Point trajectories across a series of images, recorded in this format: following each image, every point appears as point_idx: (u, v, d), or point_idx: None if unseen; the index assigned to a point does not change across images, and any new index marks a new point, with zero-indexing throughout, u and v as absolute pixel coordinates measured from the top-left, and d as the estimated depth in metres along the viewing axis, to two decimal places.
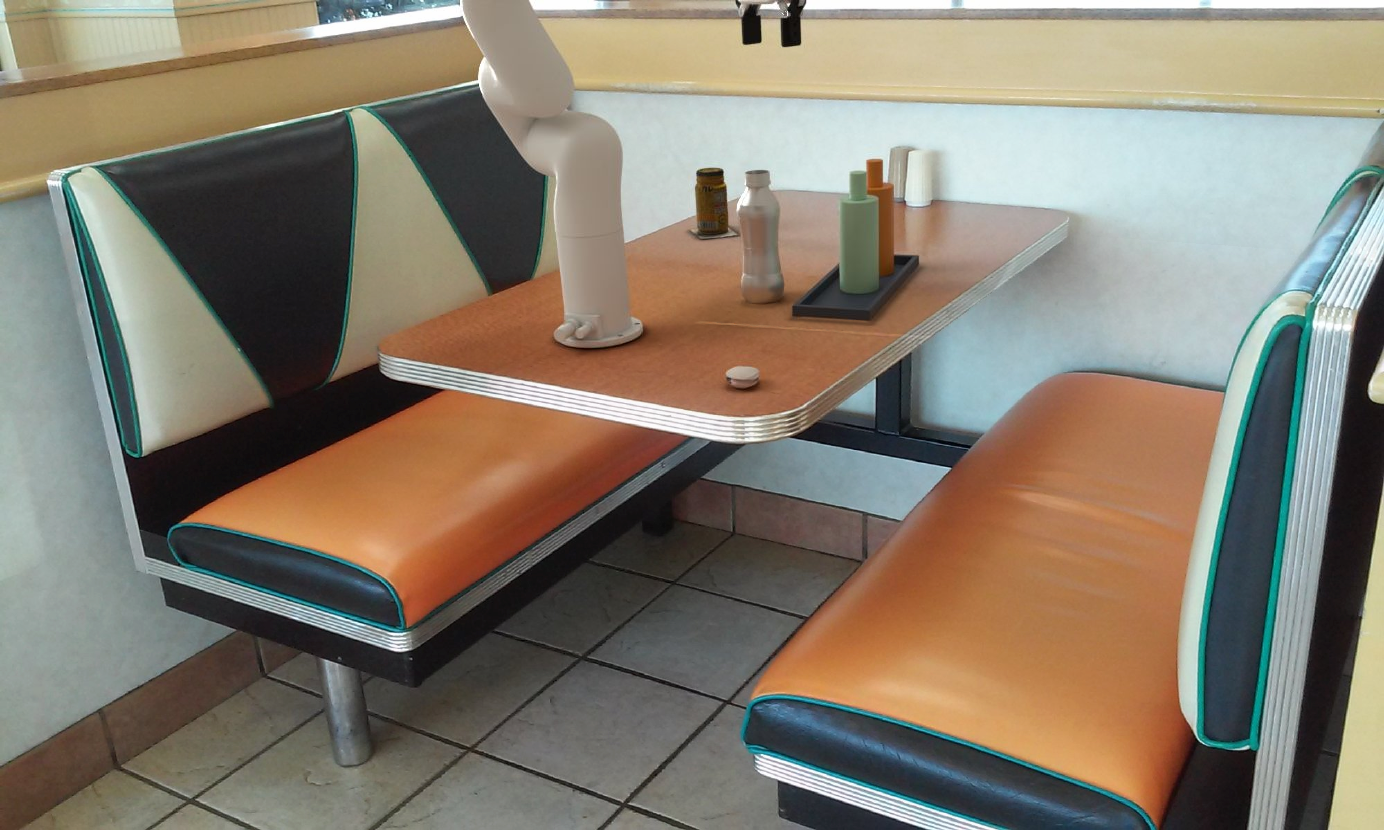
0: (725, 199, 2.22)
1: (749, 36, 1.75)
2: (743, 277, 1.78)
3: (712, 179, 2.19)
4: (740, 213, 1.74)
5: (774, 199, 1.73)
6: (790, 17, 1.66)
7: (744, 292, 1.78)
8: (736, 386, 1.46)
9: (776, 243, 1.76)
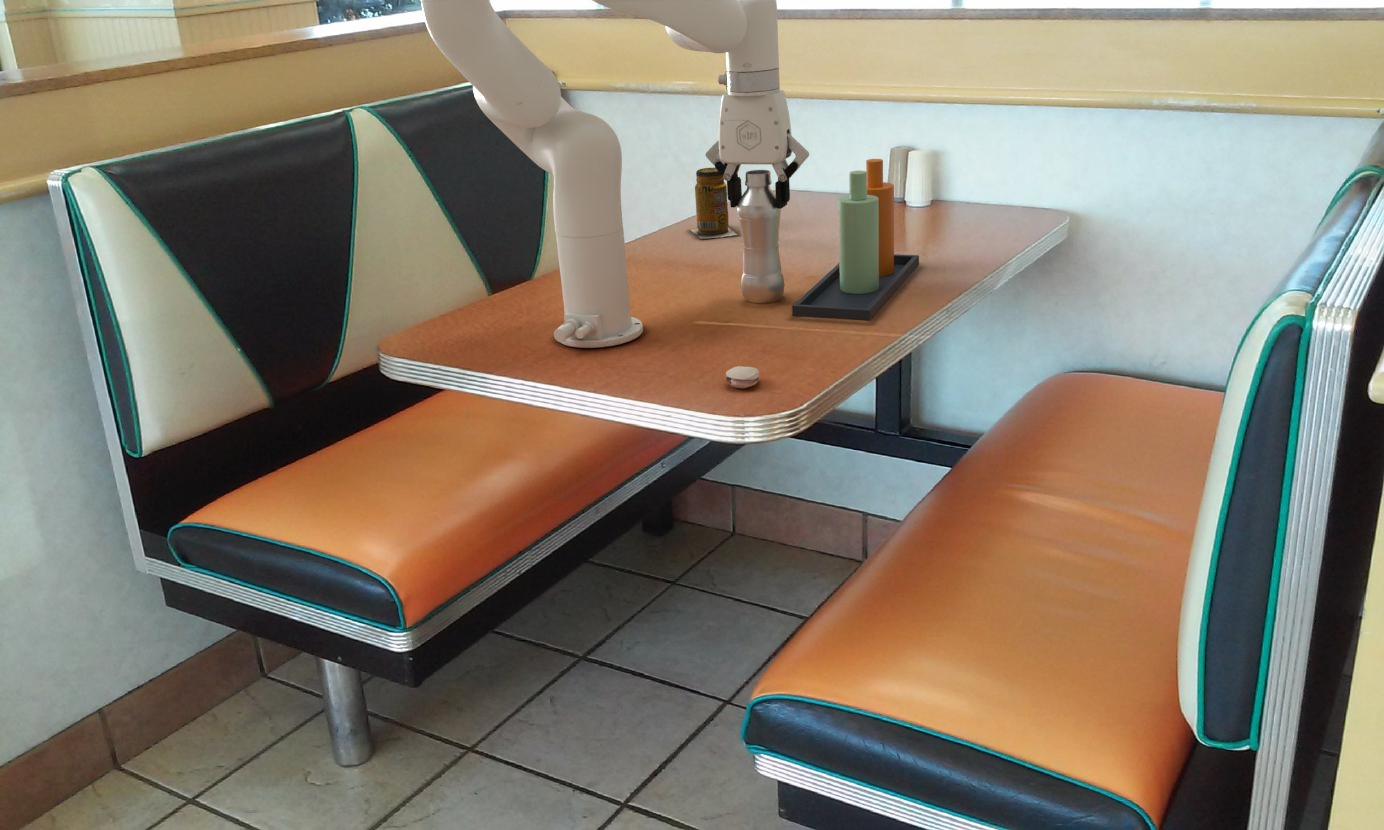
0: (725, 199, 2.22)
1: (736, 198, 1.75)
2: (743, 277, 1.78)
3: (712, 179, 2.19)
4: (741, 213, 1.74)
5: (775, 199, 1.73)
6: (785, 180, 1.71)
7: (744, 292, 1.78)
8: (736, 386, 1.46)
9: (776, 243, 1.76)
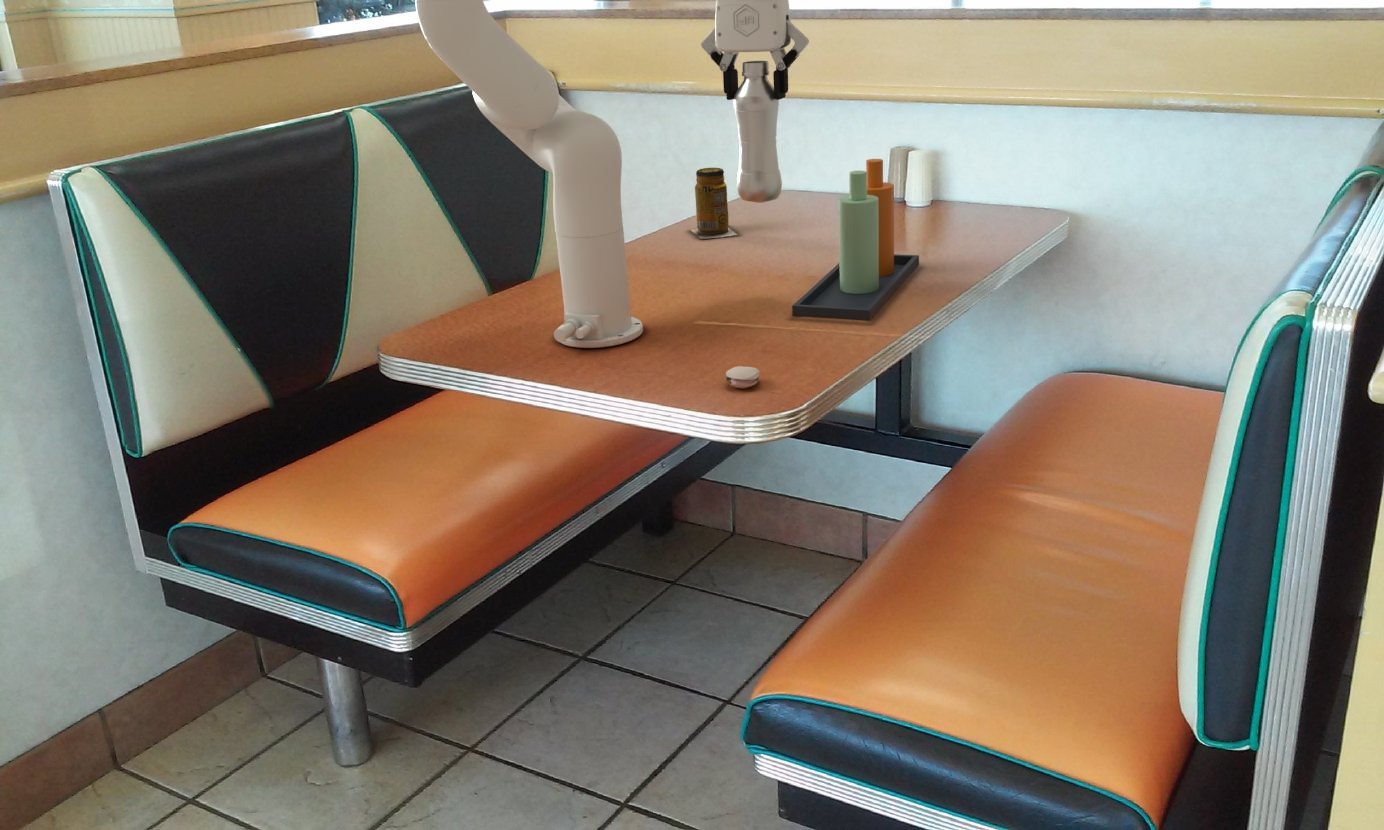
0: (725, 199, 2.22)
1: (732, 91, 1.69)
2: (739, 174, 1.72)
3: (712, 179, 2.19)
4: (737, 105, 1.67)
5: (773, 90, 1.67)
6: (784, 69, 1.65)
7: (740, 190, 1.72)
8: (736, 386, 1.46)
9: (774, 138, 1.69)
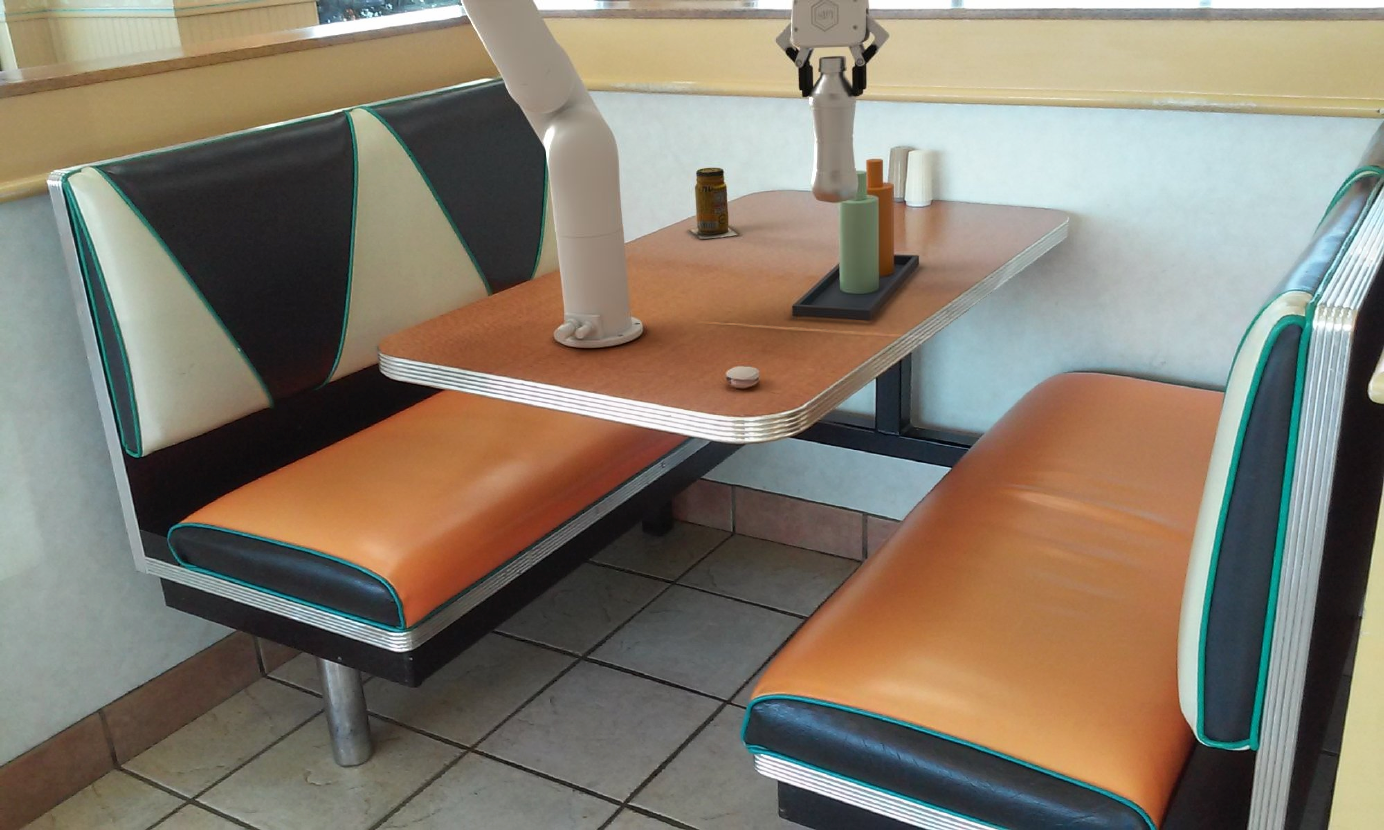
0: (725, 199, 2.22)
1: (808, 88, 1.63)
2: (814, 173, 1.66)
3: (712, 179, 2.19)
4: (814, 102, 1.62)
5: (850, 87, 1.61)
6: (863, 65, 1.59)
7: (815, 190, 1.66)
8: (736, 386, 1.46)
9: (851, 136, 1.64)
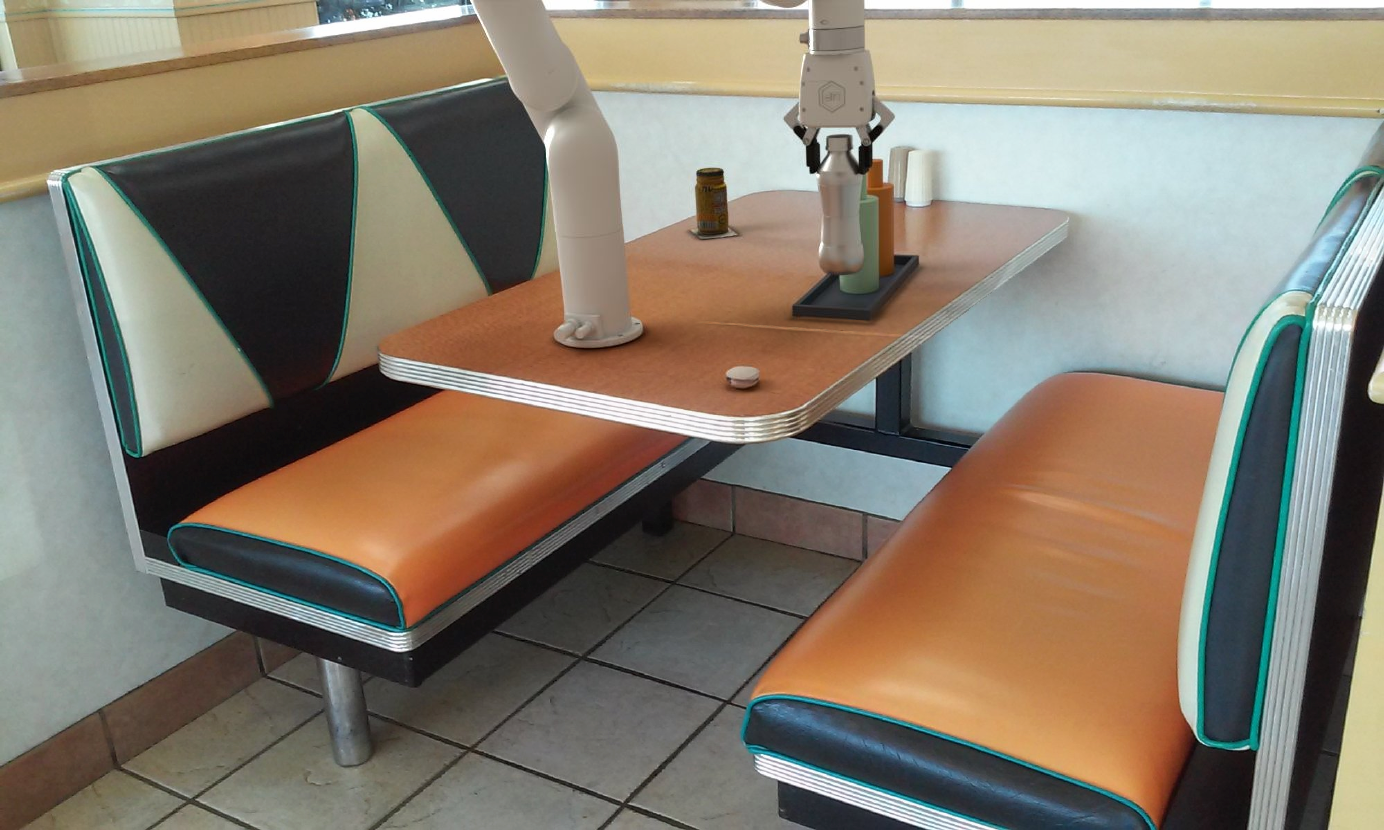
0: (725, 199, 2.22)
1: (815, 165, 1.67)
2: (821, 247, 1.70)
3: (712, 179, 2.19)
4: (821, 179, 1.65)
5: (857, 165, 1.65)
6: (869, 144, 1.63)
7: (822, 263, 1.70)
8: (736, 386, 1.46)
9: (857, 211, 1.67)
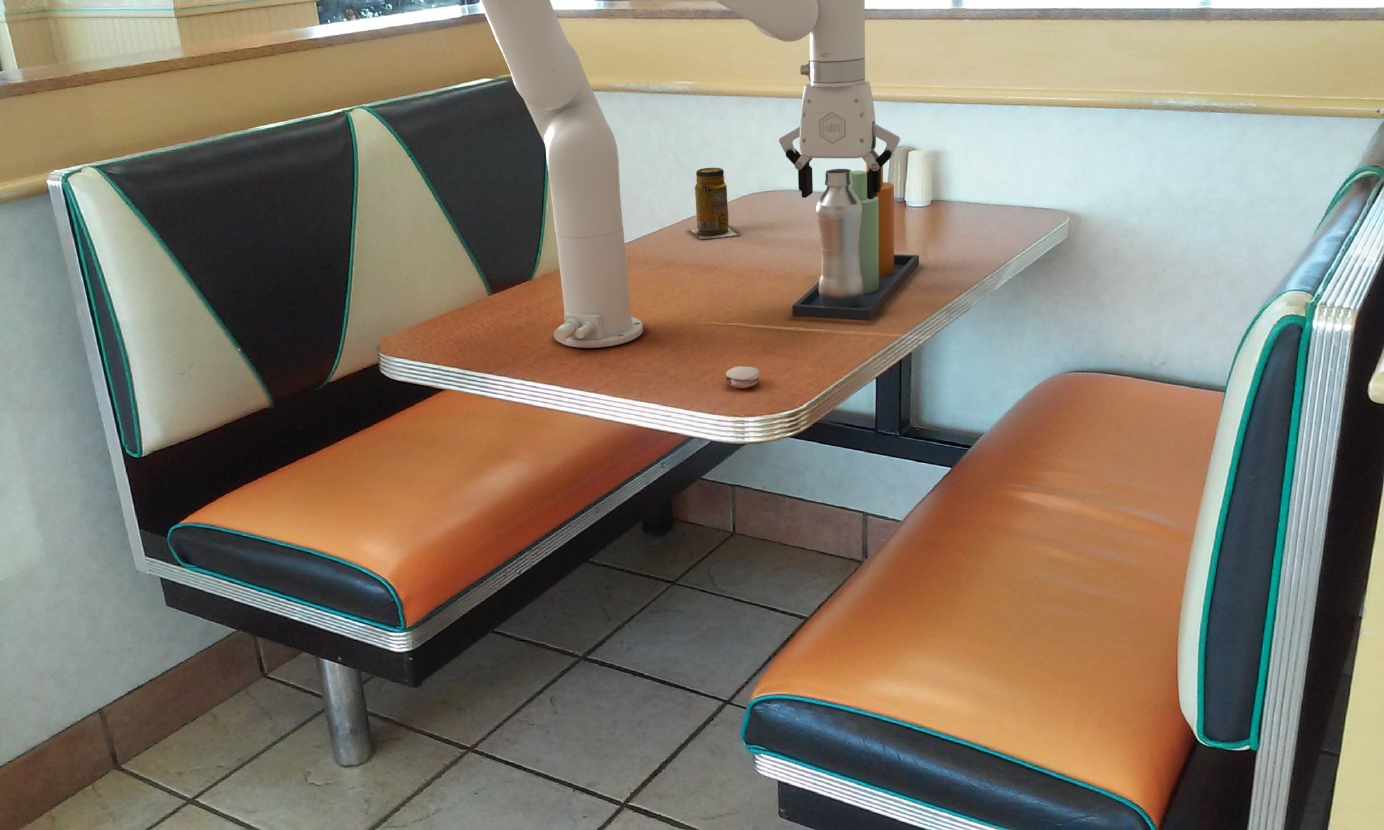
0: (725, 199, 2.22)
1: (807, 188, 1.68)
2: (822, 280, 1.71)
3: (712, 179, 2.19)
4: (820, 214, 1.67)
5: (856, 199, 1.67)
6: (877, 169, 1.63)
7: (823, 296, 1.72)
8: (736, 386, 1.46)
9: (857, 245, 1.69)
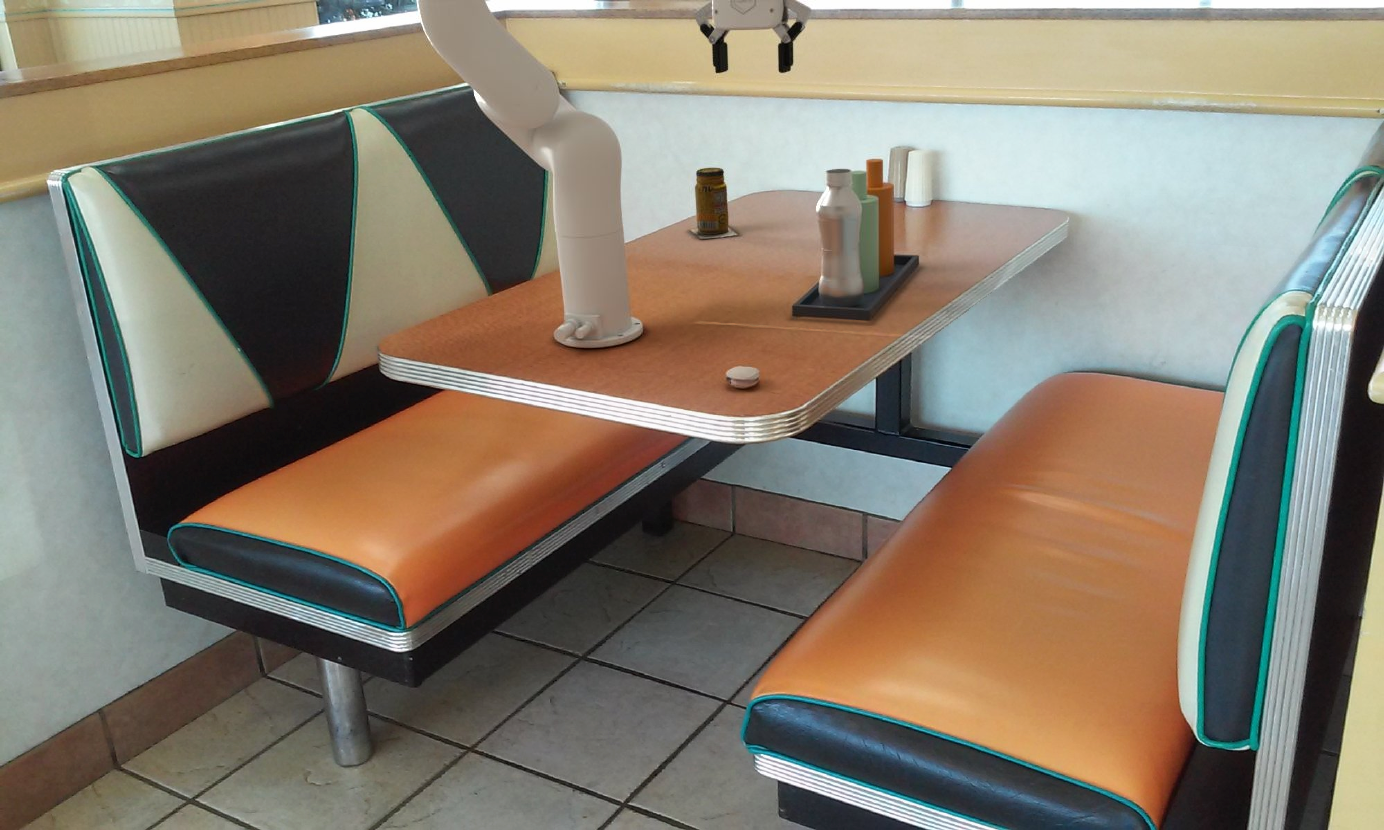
0: (725, 199, 2.22)
1: (721, 64, 1.67)
2: (822, 280, 1.71)
3: (712, 179, 2.19)
4: (820, 214, 1.67)
5: (856, 199, 1.67)
6: (789, 42, 1.62)
7: (822, 296, 1.72)
8: (736, 386, 1.46)
9: (857, 245, 1.69)
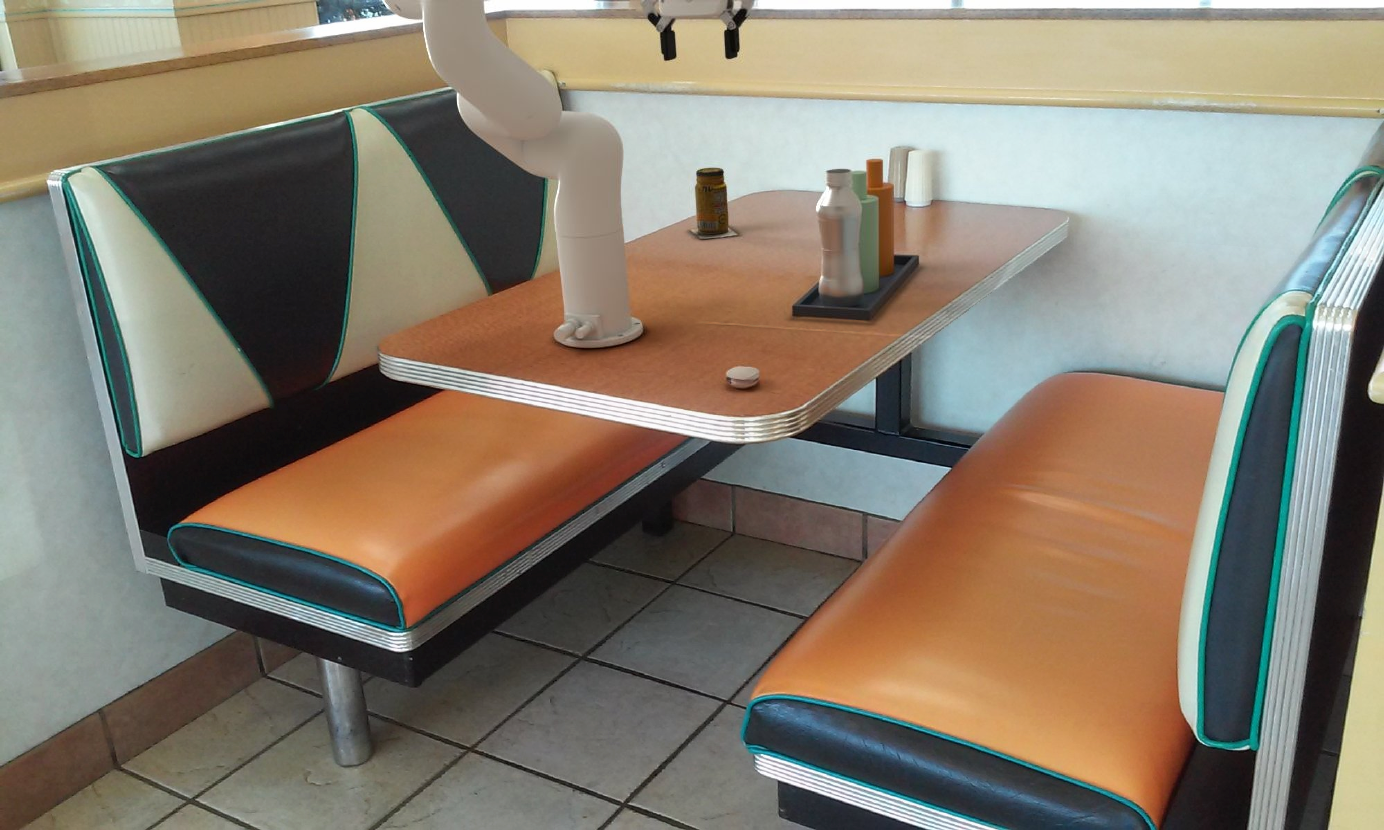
0: (725, 199, 2.22)
1: (670, 51, 1.71)
2: (822, 280, 1.71)
3: (712, 179, 2.19)
4: (820, 214, 1.67)
5: (856, 199, 1.67)
6: (734, 28, 1.65)
7: (822, 296, 1.72)
8: (736, 386, 1.46)
9: (857, 245, 1.69)
